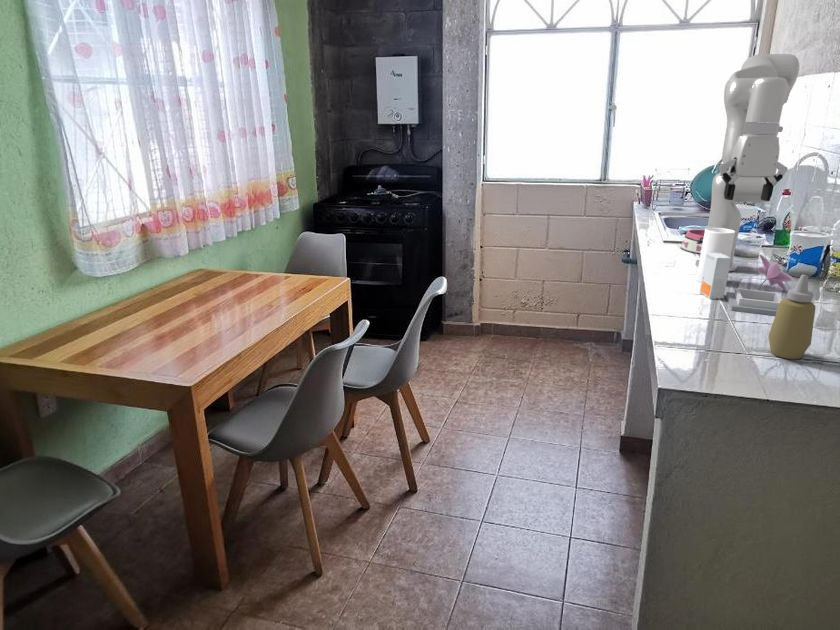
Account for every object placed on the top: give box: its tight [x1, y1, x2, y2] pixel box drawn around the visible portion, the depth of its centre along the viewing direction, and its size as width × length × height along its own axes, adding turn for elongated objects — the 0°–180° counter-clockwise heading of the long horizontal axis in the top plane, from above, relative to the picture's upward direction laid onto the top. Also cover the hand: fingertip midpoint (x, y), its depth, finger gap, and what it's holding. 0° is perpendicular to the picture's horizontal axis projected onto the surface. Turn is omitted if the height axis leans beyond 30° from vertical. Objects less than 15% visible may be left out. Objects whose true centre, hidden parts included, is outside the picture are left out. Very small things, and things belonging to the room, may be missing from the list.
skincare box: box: [699, 253, 731, 300], centre depth 171 cm, size 6×4×12 cm
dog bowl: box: [679, 228, 705, 255], centre depth 227 cm, size 18×19×7 cm
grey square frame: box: [725, 287, 784, 317], centre depth 164 cm, size 14×14×3 cm
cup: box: [695, 227, 735, 283], centre depth 185 cm, size 8×8×16 cm
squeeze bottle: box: [768, 274, 816, 360], centre depth 129 cm, size 8×8×18 cm
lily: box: [755, 254, 795, 292], centre depth 179 cm, size 12×12×10 cm
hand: (746, 200), depth 156 cm, fingers open, 9 cm apart
